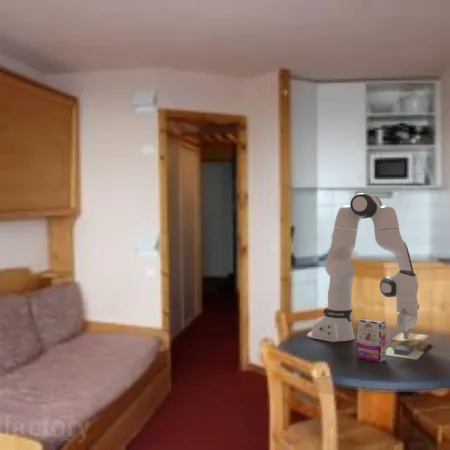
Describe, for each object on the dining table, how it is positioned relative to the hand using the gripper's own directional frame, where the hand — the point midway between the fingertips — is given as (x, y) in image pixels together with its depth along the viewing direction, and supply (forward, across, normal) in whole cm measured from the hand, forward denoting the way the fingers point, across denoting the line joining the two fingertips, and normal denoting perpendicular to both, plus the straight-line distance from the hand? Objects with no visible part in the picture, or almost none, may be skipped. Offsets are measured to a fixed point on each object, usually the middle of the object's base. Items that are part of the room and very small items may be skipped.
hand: (406, 338), depth 245 cm
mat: (+5, -8, 0) cm, 9 cm away
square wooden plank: (+5, +6, 0) cm, 8 cm away
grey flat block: (+4, -6, 0) cm, 8 cm away
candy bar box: (+5, -23, +8) cm, 25 cm away
